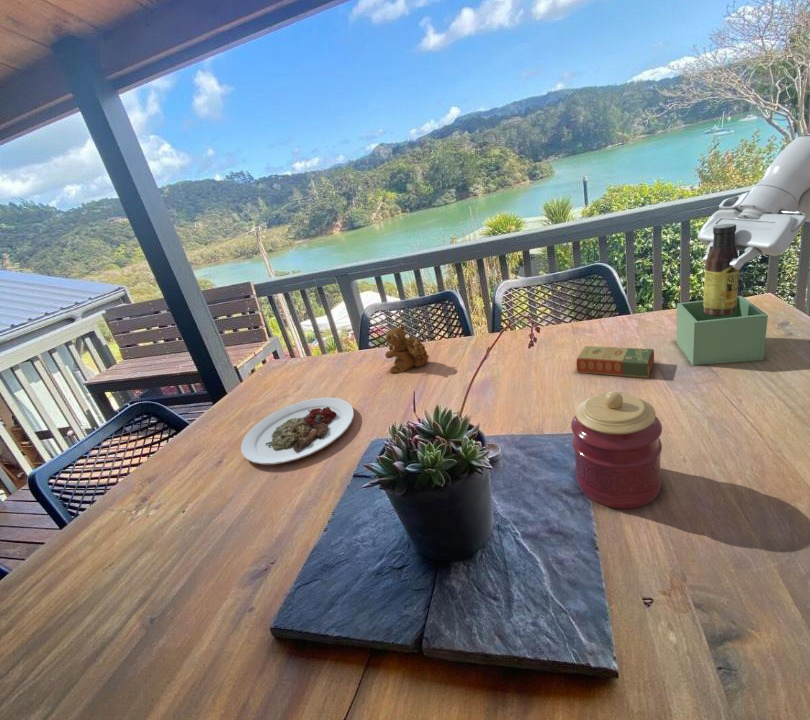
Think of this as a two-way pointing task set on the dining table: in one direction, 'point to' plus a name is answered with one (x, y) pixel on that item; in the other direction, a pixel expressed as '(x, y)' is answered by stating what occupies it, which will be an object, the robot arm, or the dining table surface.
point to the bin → (721, 333)
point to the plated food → (297, 430)
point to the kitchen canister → (617, 450)
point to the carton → (616, 361)
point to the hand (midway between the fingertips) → (719, 265)
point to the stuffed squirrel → (405, 351)
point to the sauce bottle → (721, 273)
